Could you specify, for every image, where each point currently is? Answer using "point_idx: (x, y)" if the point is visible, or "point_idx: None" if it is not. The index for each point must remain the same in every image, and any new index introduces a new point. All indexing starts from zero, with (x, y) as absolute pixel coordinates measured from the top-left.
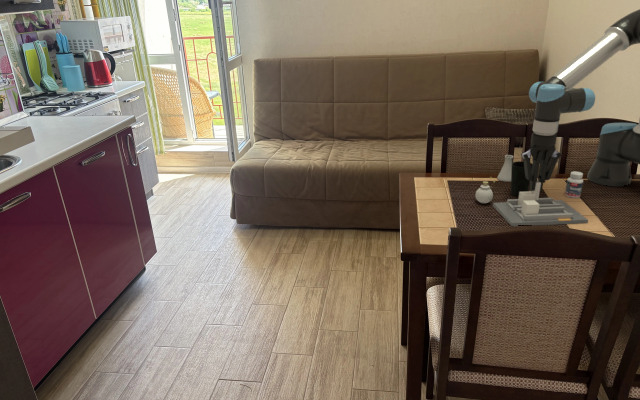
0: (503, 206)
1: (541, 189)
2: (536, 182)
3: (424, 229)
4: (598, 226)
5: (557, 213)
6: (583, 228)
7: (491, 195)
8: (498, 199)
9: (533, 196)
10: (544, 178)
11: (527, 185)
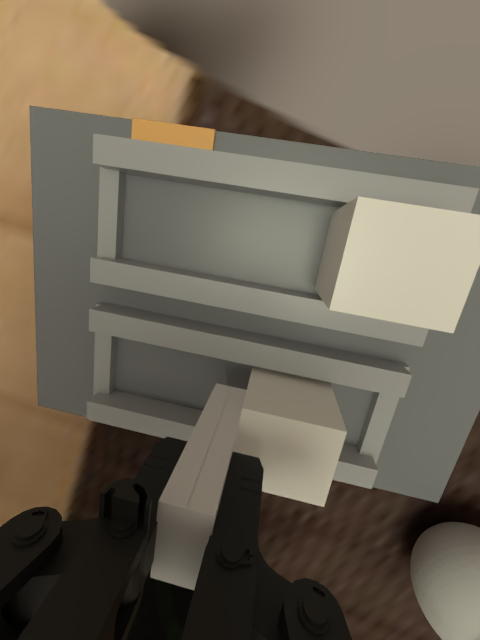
0: (415, 440)
1: (164, 443)
2: (211, 525)
3: None
4: (11, 51)
5: (193, 177)
6: (110, 40)
7: (466, 563)
8: (332, 537)
9: (258, 404)
10: (82, 550)
11: (153, 580)
